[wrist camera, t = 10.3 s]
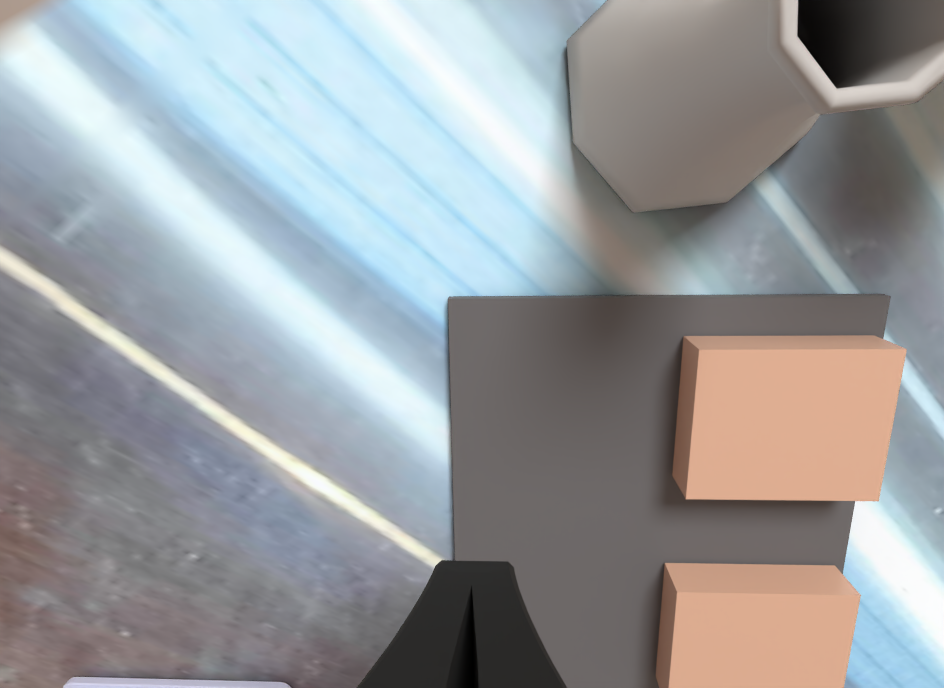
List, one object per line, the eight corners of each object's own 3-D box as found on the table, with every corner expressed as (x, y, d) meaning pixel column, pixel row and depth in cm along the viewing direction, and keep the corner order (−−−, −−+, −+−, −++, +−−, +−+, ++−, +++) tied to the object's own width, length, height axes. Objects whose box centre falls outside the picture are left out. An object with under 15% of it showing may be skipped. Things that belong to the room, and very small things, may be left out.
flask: (838, 151, 18) (1209, 122, 9) (614, 250, 20) (724, 322, 10) (765, -97, 17) (1120, -466, 7) (525, 27, 18) (553, -148, 8)
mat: (459, 686, 24) (458, 694, 24) (448, 296, 20) (448, 298, 20) (814, 695, 24) (819, 703, 23) (882, 293, 19) (890, 296, 19)
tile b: (685, 499, 19) (878, 501, 19) (699, 349, 18) (906, 349, 18) (671, 474, 21) (848, 475, 21) (682, 335, 20) (872, 334, 19)
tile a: (666, 711, 22) (838, 715, 21) (677, 592, 20) (860, 595, 20) (654, 673, 23) (814, 677, 23) (663, 561, 22) (833, 563, 22)
